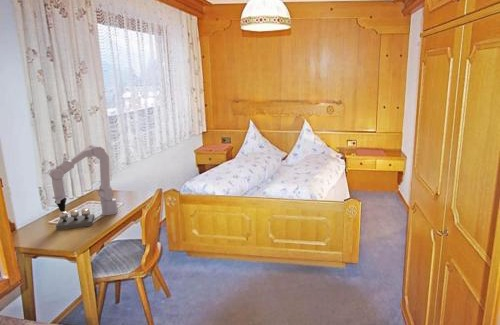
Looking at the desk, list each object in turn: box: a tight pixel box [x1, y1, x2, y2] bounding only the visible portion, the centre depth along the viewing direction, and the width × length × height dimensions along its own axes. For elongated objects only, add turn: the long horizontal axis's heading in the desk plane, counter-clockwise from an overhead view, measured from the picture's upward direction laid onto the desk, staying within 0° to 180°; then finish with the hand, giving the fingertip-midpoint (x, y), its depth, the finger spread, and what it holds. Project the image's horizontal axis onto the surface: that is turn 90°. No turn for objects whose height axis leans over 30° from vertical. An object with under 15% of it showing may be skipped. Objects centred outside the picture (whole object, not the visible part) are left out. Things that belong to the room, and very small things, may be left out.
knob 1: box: [58, 210, 69, 222], centre depth 219 cm, size 4×4×6 cm
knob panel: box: [55, 213, 95, 231], centre depth 221 cm, size 19×12×2 cm, turn 105°
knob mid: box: [69, 209, 80, 221], centre depth 220 cm, size 4×4×6 cm
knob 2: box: [80, 207, 91, 219], centre depth 222 cm, size 4×4×6 cm
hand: (62, 211), depth 218 cm, fingers closed
